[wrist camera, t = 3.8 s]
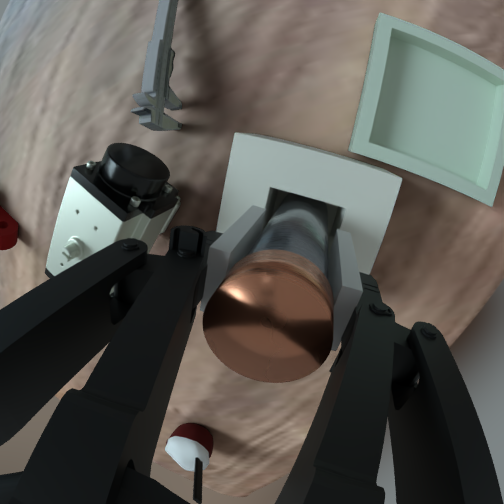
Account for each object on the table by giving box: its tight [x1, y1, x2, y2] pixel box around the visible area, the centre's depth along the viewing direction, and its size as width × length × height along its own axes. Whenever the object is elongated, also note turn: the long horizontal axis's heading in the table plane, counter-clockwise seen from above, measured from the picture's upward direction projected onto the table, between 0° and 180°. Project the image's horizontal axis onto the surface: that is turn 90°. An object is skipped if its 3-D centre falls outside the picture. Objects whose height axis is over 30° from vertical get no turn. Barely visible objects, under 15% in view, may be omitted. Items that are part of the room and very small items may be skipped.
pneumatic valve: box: [45, 143, 181, 294], centre depth 21 cm, size 6×12×12 cm, turn 145°
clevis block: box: [216, 132, 402, 275], centre depth 21 cm, size 10×10×6 cm
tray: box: [348, 13, 504, 207], centre depth 17 cm, size 11×12×2 cm
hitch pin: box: [203, 192, 334, 383], centre depth 16 cm, size 4×4×15 cm
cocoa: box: [165, 423, 213, 504], centre depth 32 cm, size 10×6×12 cm, turn 91°
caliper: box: [131, 0, 182, 131], centre depth 17 cm, size 20×1×6 cm, turn 1°
